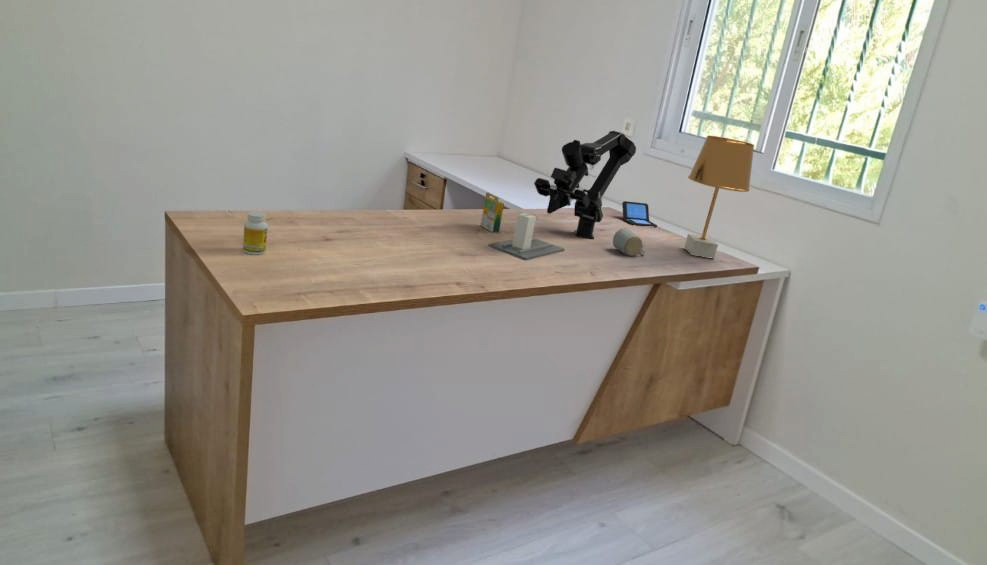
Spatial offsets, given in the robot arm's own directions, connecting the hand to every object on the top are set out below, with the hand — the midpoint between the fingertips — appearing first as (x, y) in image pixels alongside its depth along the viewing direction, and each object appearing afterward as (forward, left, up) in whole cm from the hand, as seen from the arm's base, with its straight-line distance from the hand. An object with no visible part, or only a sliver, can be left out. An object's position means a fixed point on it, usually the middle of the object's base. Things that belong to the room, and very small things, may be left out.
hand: (548, 212), depth 218 cm
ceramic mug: (-9, +30, -11) cm, 33 cm away
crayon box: (-9, -17, -11) cm, 22 cm away
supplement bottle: (+53, -73, -11) cm, 91 cm away
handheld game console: (-61, +42, -11) cm, 74 cm away
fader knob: (+10, -7, -10) cm, 16 cm away
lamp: (-26, +58, -11) cm, 64 cm away
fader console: (+7, -5, -11) cm, 14 cm away
